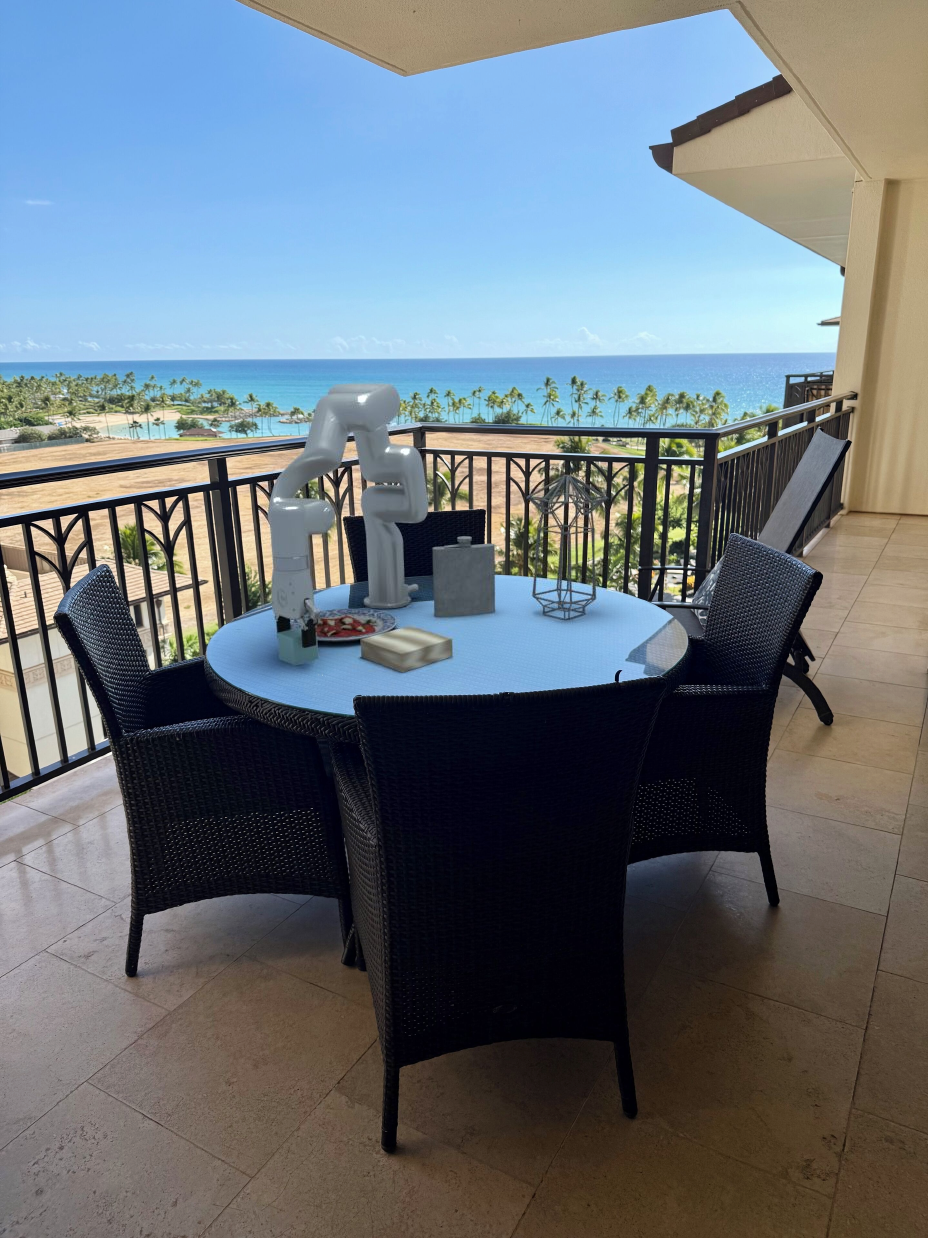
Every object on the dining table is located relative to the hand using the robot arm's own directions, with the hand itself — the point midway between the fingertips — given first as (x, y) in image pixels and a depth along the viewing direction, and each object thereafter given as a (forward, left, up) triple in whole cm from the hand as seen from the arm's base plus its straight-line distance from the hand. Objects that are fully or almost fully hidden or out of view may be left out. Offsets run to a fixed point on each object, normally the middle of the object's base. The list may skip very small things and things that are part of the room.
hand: (296, 641), depth 173 cm
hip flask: (-49, +1, -4) cm, 50 cm away
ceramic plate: (-19, -10, -5) cm, 22 cm away
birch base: (-17, +16, -4) cm, 24 cm away
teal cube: (0, 0, -4) cm, 4 cm away
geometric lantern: (-67, +19, -4) cm, 70 cm away
